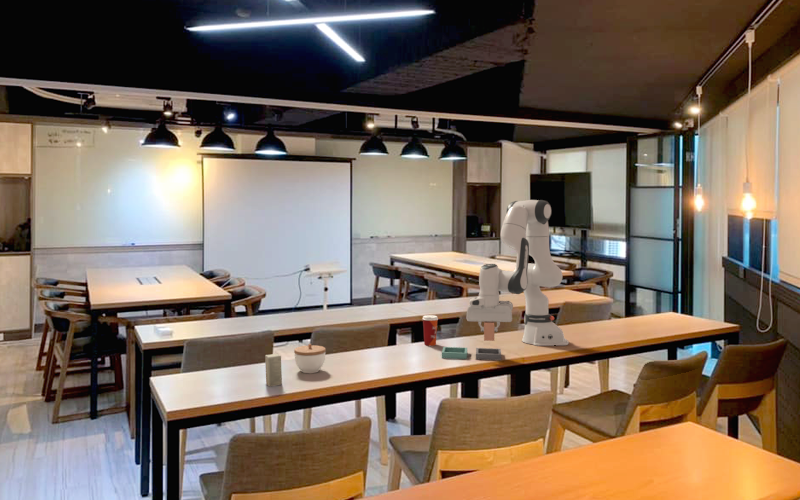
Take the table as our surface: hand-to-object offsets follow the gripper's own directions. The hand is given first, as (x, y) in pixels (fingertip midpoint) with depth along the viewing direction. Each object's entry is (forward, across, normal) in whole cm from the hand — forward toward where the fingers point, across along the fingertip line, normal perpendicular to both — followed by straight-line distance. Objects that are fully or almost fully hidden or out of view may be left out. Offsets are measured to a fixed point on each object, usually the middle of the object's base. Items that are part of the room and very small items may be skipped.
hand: (489, 331), depth 258 cm
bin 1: (+11, +15, 0) cm, 19 cm away
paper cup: (+12, +28, -20) cm, 36 cm away
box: (+10, +80, +54) cm, 98 cm away
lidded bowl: (+10, +72, +34) cm, 81 cm away
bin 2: (+11, 0, 0) cm, 11 cm away
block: (+4, 0, 0) cm, 4 cm away
